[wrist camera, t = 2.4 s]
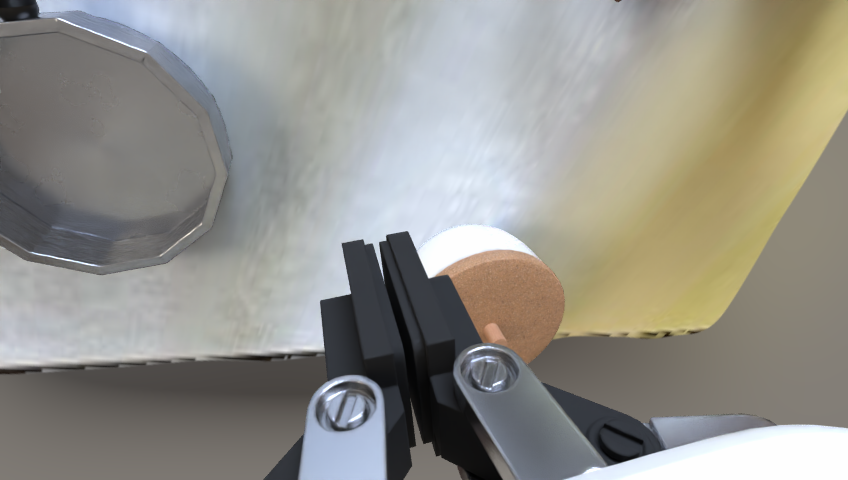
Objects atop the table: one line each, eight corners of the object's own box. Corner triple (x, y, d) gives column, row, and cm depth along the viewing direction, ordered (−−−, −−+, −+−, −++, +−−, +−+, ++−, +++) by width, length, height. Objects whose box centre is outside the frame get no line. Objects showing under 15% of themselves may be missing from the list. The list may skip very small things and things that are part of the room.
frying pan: (-298, -264, 16) (-421, -309, 13) (107, -264, 18) (75, -302, 16) (34, 259, 28) (6, 292, 25) (254, 220, 31) (251, 248, 28)
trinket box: (404, 191, 32) (442, 267, 24) (537, 208, 36) (606, 280, 28) (373, 312, 37) (397, 407, 29) (493, 317, 41) (541, 403, 33)
